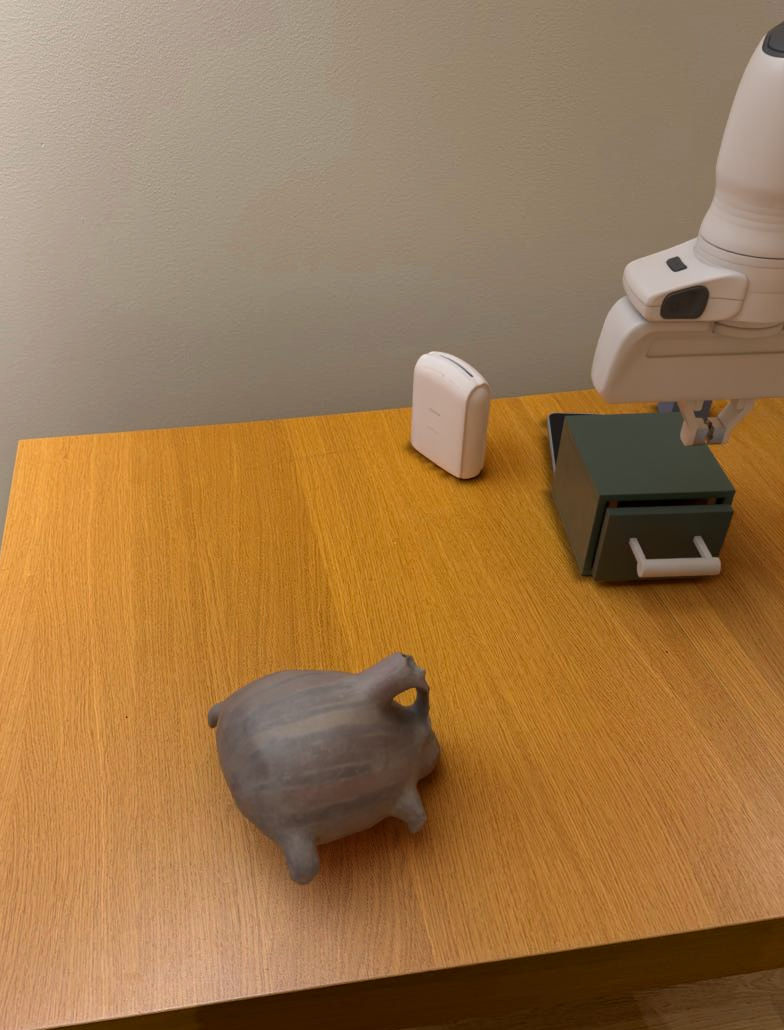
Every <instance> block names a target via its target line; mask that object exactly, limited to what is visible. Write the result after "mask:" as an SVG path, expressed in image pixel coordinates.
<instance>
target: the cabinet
mask: <svg viewBox="0 0 784 1030" xmlns="http://www.w3.org/2000/svg"><path fill="white" fill-rule="evenodd" d="M683 422H684V419H683V417H682V414H681V412H663V413H660V412H639V413H638V412H635V413H634V412H633V413H610V414H609V413H608V414H607V413H605V414H603V415H576V416H565V418H564V424H563V429H562V435H561V440H560V446H559V451H558V457H557V462H556V468H555V474H554V473H553V480H552V485H551V490H550V495H551V497H552V500H553V502H554V505H555V508H556V511H557V513H558V516H559V518H560V521H561V524H562V526H563V529H564V532H565V535H566V537H567V540H568V542H569V543H568V544H569V546H570V548H571V552H572V553H573V556H574V559H575V561H576V564H577V567H578V570H579V573H580V575H581V576H592V574H591V573H592V569H593V565H594V560H595V559H594V552H595V548H596V544H597V540H598V535H599V531H600V527H601V522H602V518H603V514H604V509H605V505H606V502H610V501H639V500H669V499H699V498H717V499H716V502H715V505H719V504H730V505H731V506H732V504H733V500H734V498H735V495H736V492H737V490H736V488H735V486H734V485H733V483H732V482H731V480H730V478H729V477H728V475H727V473H726V472H725V471H724V469H723V467H722V466H721V465H720V463H719V461H718V460H717V458H716V456H715V455H714V454H713V452H712V450H711V448H710V447H709V445H707V443H706V442H707V441H705V443H704V444H703V445H695V446H685V445H684V444H683V442H682V440H681V438H680V433H681V429H682V425H683Z"/></svg>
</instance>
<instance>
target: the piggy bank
mask: <svg viewBox="0 0 784 1030" xmlns="http://www.w3.org/2000/svg"><path fill="white" fill-rule="evenodd" d="M426 674H427V671H426V669H425V668H423V667H420V666H418V664H417V663H416V661H415V659H414V657H413V655H412V654H406V653H402V652H401V651H395V652H393V653H392V654H390V655H388V656H386V657H384V658H382V659H381V660H379V661H378V662H376V663H374V664H373V665H372V666H370V667H368V668H366V669H364V670H361V671H359V672H356V673H352V672H347V671H340V670H326V669H286V670H279V671H274V672H271V673H269V674H266V675H264V676H261V677H259V678H256V679H254V680H253V681H250V682H249V683H247V684H246V685H243V686H242V687H240V688H239V689H237V690H236V691H234V692H232V693H231V694H230V695H228V696H227V697H226V698H225V699H224V700H223V701H219V702H217V703H215V704H213V705H212V706H211V707H210V709H209V710H208V713H207V724H208V726H209V728H210V729H212V730H214V729H215V744H216V750H217V756H218V762H219V763H218V764H219V767H220V770H221V772H222V775H223V778H224V781H225V783H226V786H227V788H228V791H229V792H230V794H231V797H232V799H233V801H234V803H235V805H236V807H237V809H238V811H239V812H240V813H241V815H242V816H243V817H244V818H245V819H247V820H248V821H249V822H250V823H251V824H252V825H253V826H254V827H255V828H257V830H259V832H261V833H262V834H263V835H264V836H266V837H267V839H269V840H271V841H272V842H273V843H274V844H276V846H278V848H279V849H280V850H281V851H282V854H283V856H284V859H285V862H286V868H287V870H288V872H289V876H290V880H291V881H292V882H293V883H295V884H297V885H300V886H307V885H310V884H311V883H312V882H313V881H314V880H315V878H317V877H318V876H319V874H320V866H321V861H320V857H319V852H318V847H317V845H323V844H328V843H331V842H334V841H337V840H341V839H344V838H345V837H348V836H351V835H355V834H357V833H361V832H363V831H365V830H368V829H371V828H372V827H374V826H375V825H377V824H379V823H380V822H382V821H383V820H384V819H385V818H390V817H393V818H397V819H399V820H400V821H403V822H405V824H406V825H407V828H408V831H409V832H410V833H412V834H416V833H418V832H420V831H421V830H422V829H424V828H425V827H426V823H427V820H428V814H427V812H426V810H425V808H424V806H423V802H422V799H421V795H420V794H419V790H418V788H417V787H418V786H417V785H418V784H419V781H420V780H422V779H425V778H426V777H428V776H429V775H430V774H431V773H432V772H433V771H434V769H435V768H436V767H437V765H438V763H439V761H440V758H441V755H442V750H441V745H440V742H439V741H438V738H437V736H436V734H435V732H434V730H433V728H432V720H431V717H430V709H431V707H430V690H431V688H430V686H429V683H428V682H427V680H426ZM410 689H415V691H416V697H415V700H414V701H413V702H412V704H411V705H407V706H406V705H403V704H400V703H399V702H398V701H397V700H395V698H396V697H397V696H399V695H401V694H403V693H404V692H405V691H409V690H410Z"/></svg>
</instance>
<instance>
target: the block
mask: <svg viewBox="0 0 784 1030" xmlns="http://www.w3.org/2000/svg"><path fill="white" fill-rule="evenodd" d="M713 401H714V400H705V401H704V402H703V406H702V409H701V410H700V411H695V410H694V411H693V412H694V414H695V417H696V418H702V419H703V420H704V424H706V421H707V418H708V417H709V414H710V412H711V411H710V410H711V407H712V404H713ZM656 408H657V411H658V413H663V412H681V411H680V409H679V406H678V404H677V402H657V404H656Z"/></svg>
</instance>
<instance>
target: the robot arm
mask: <svg viewBox="0 0 784 1030" xmlns="http://www.w3.org/2000/svg"><path fill="white" fill-rule="evenodd" d="M753 51H754V52H753V53H752V55H751V56H750V59H749V61H748V63H747V65H746V67H745V69H744V72H743V74H742V77H741V79H740V81H739V84H738V87H737V90H736V93H735V96H734V98H733V101H732V105H731V108H730V111H729V114H728V118H727V121H726V124H725V128H724V132H723V135H722V136H723V137H722V139H721V143H720V146H719V151H718V154H717V159H716V164H715V187H714V188H715V189H714V195H713V198H712V201H711V204H710V206H709V208H708V210H707V212H706V213H705V214H704V217H703V218H702V221H701V224H700V227H699V230H698V234H697V236H696V237H694V238H691V239H689V240H687V241H684V242H682V243H680V244H677V245H674V246H672V247H669V248H667V249H666V248H665V249H664V250H659V251H658V252H655V253H652V254H649V255H646V256H643V257H640V258H637V259H635V260H632V261H631V262H629V263H628V264H627V265H626V266H625V268H624V270H623V273H622V279H621V281H622V282H621V283H622V286H623V290H624V292H625V294H626V295H624V296H622V297H621V298H619V299H618V300H617V301H616V302H615V303H614V304H613V305H612V307H611V308H610V309H609V311H608V313H607V315H606V317H605V319H604V323H603V325H602V326H603V327H602V328H601V331H600V334H599V338H598V341H597V344H596V348H595V351H594V356H593V360H592V364H591V370H590V378H591V382H592V385H593V387H594V389H595V390H596V391H595V392H596V393H597V394H598V396H599V397H600V398H601V399H602V401H604V403H606V404H609V405H618V404H619V405H620V404H641V403H642V404H646V403H647V404H648V403H658V402H677V404H678V406H679V409H680V411H681V414H682V417H683V419H684V422H683V425H682V429H681V433H680V438H681V440H682V442H683V444H684V445H685V446H695V445H703V444H704V443H705V442H706V444H707V445H708V446H716V445H727V444H728V442H729V439H730V436H731V433H732V430H733V428H735V427H736V426H737V425H738V424H739V423H741V422H742V420H743V419H744V418H746V417H747V415H749V413H751V412H752V411H753V409H754V407H755V404H756V401H757V399H782V398H783V399H784V20H783V21H782V22H780V23H779V24H777V25H775V26H773V27H772V28H770V29H769V30H768V31H767V32H766V33H765V34H764V35H763V37H762V38H761V40H759V43H758V44H757V46H756V47H755V50H753ZM705 400H713V401H728V400H729V402H728V403H727V405H726V406H725V407H724V408H723V409H722V410H721V411H720V412H719V414H718V415H717V416H708V418H707V421H706V424H704V420H703V419H702V418H696V417H695V414H694V412H693V411H694V410H695V411H700V410H701V409H702V406H703V402H704V401H705Z"/></svg>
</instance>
